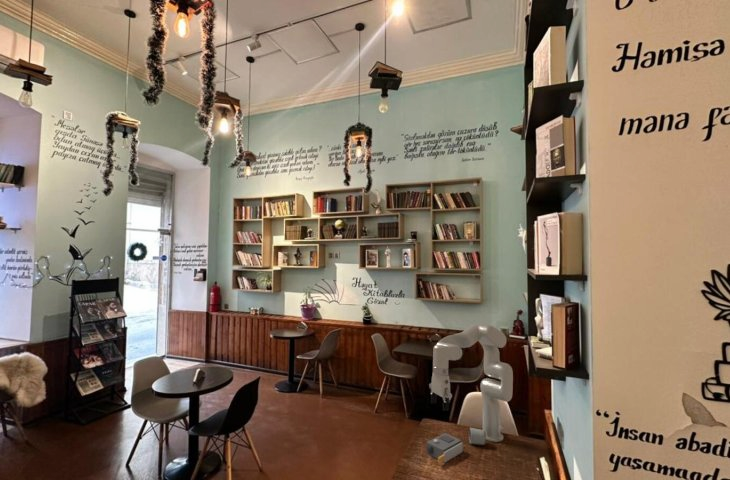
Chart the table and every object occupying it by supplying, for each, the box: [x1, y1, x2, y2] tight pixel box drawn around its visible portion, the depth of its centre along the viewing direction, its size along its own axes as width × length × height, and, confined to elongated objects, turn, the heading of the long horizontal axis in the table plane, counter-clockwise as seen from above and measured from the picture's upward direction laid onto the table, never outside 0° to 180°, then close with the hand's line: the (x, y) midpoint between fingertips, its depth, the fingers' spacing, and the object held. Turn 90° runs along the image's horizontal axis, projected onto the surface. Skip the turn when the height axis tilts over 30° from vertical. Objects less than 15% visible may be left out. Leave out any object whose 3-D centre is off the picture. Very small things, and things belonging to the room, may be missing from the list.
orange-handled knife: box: [437, 441, 464, 464], centre depth 165 cm, size 20×1×4 cm, turn 131°
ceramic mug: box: [468, 427, 487, 446], centre depth 182 cm, size 11×8×8 cm
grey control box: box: [426, 432, 462, 460], centre depth 170 cm, size 17×10×6 cm, turn 131°
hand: (439, 406), depth 163 cm, fingers open, 9 cm apart
